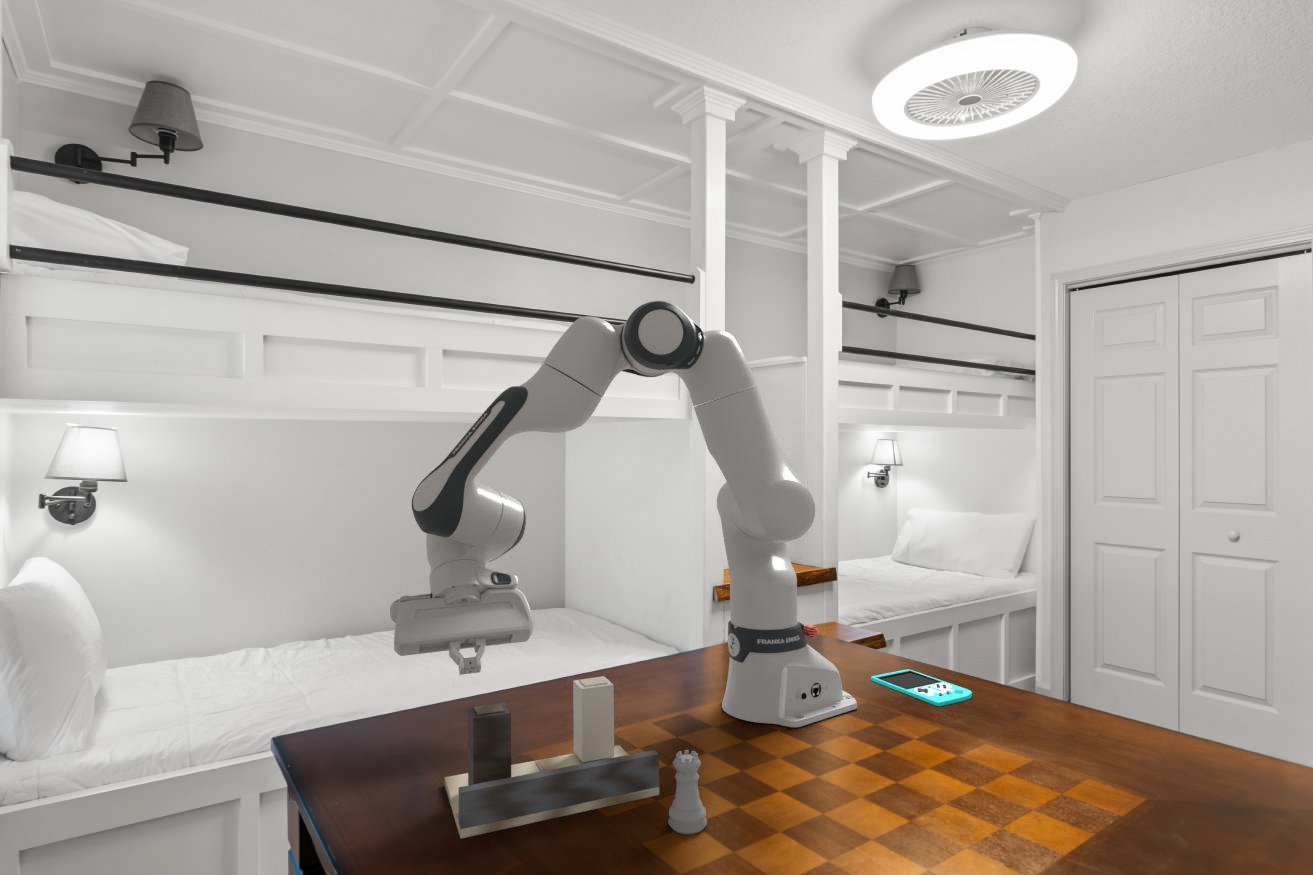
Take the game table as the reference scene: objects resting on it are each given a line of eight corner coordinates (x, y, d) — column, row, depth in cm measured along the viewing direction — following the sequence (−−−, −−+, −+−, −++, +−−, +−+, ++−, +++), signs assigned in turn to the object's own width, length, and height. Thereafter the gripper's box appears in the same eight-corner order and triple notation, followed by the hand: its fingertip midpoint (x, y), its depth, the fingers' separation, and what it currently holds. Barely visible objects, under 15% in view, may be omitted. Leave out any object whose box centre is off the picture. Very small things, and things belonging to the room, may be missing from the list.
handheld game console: (937, 709, 117) (937, 701, 117) (868, 682, 132) (868, 675, 132) (979, 699, 122) (979, 691, 122) (908, 674, 136) (908, 667, 136)
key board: (619, 751, 101) (619, 716, 101) (659, 794, 88) (658, 753, 88) (444, 784, 91) (444, 745, 91) (460, 838, 78) (460, 792, 78)
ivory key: (604, 745, 100) (603, 674, 100) (614, 756, 96) (613, 682, 96) (573, 751, 98) (573, 678, 98) (582, 762, 94) (581, 687, 94)
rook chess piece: (704, 837, 78) (703, 764, 78) (664, 833, 79) (663, 761, 79) (709, 817, 82) (708, 747, 82) (671, 813, 83) (671, 745, 83)
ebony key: (504, 779, 89) (504, 700, 90) (511, 793, 86) (510, 710, 86) (468, 786, 88) (467, 706, 88) (473, 800, 84) (473, 716, 84)
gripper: (390, 585, 105) (394, 669, 96) (526, 574, 113) (542, 651, 104) (388, 609, 109) (392, 693, 99) (520, 597, 117) (535, 673, 108)
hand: (470, 671), depth 102 cm, fingers closed
